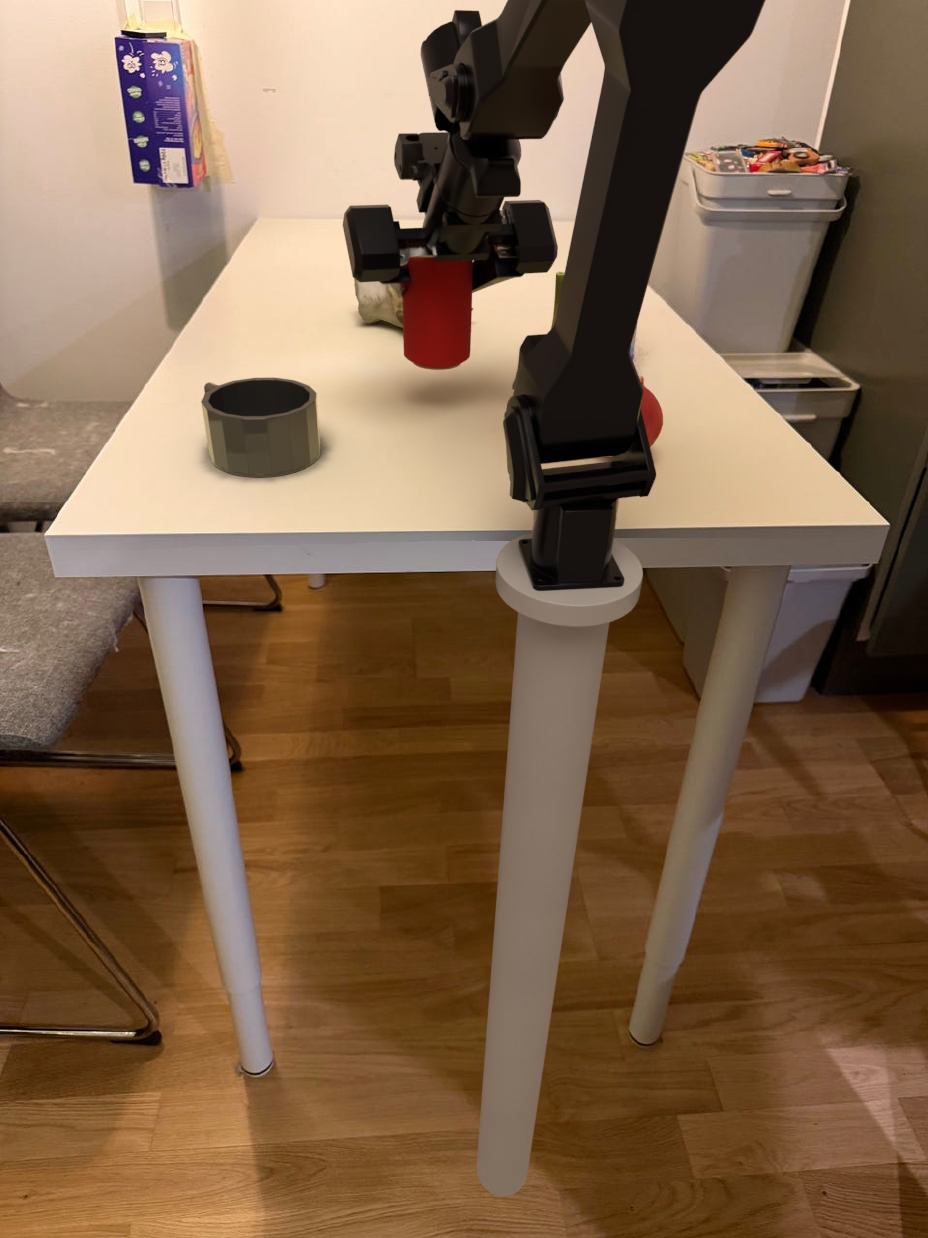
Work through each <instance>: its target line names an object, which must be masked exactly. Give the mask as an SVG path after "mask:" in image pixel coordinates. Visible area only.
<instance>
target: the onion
mask: <svg viewBox="0 0 928 1238" xmlns="http://www.w3.org/2000/svg"><path fill="white" fill-rule="evenodd" d="M638 376H639V379H640V381H641V384H642V387H643V390H644V392H643V398H642V403H641V411H642V416H643V420H644V424H645V428H646V432H647V437H648V441H649V445H650V447H651V446H653V445H654V444H655V442H656V441H657V440H658V438H659V436H660V434H661V432H662V429H663V426H664V413H663V409H662V406H661V404H660V402H659V401H658V399H657V397H656V396H655V394H654V393H653V392H652V391H651V390H650V389H648V387H646V386H645V378H644V376H642V375H638Z"/></svg>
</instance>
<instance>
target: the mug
mask: <svg viewBox="0 0 928 1238" xmlns="http://www.w3.org/2000/svg"><path fill="white" fill-rule="evenodd" d="M203 390H204V394H203V396H202V399H201V401H200V403H201V410H202V416H203V423H204V430H205V435H206V442H207V443H206V444H207V449H208V456H209V457H210V461H211V463H212V464H213V466H215V467H216V468H217V469H218V470H220V471H222V472H224V473H227V474H230V475H234V476H238V477H244V478H273V477H280V476H287V475H290V474H293V473H297V472H299V471H302V470H305V469H307V468H308V467H310V466H312V465H313V464H314V463H315V462H316V461H317V460H318V459H319V458H320V454H321V436H320V422H319V421H320V419H319V408H318V406H319V405H318V395H317V394H318V393H317V392H316V391H315V389H313V388H312V387H311V386H310V385H308V384H306V383H304V382H301V381H299V380H298V381H297V380H294V379H289V378H280V377H251V378H242V379H237V380H231V381H229V382H225V383H222V384H216V383H214V382H210V381H209V382H206V383H205V384H204V386H203Z"/></svg>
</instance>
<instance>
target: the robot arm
mask: <svg viewBox="0 0 928 1238" xmlns="http://www.w3.org/2000/svg"><path fill="white" fill-rule="evenodd" d="M765 4H766V0H507V1H506V2H505V5H504V7H503V8H502V11H501V13H500V14H499V15H498V17H497V18H495V19H493V20H491V21H489V22H487V23H485V24H483V23H482V18H481V14H480V10H469V9H468V10H467V9H464V10H463V9H455V10H454V12H453V14H452V19H451V21H448V22H446V23H443V24H442V25H440V26H438V27H437V28H435V29H434V30H433V31H431V32H430V34H429V35H427V36H426V39H425V40H423V41H422V43H421V46H420V60H421V64H422V70H423V74H424V78H425V82H426V87H427V93H428V97H429V102H430V107H431V112H432V116H433V122H434V124H435V125H434V126H435V128H436V129H437V131H439V132H436V131H435V132H420V133H417V132H415V133H412V132H411V133H410V132H409V133H408V132H407V133H403V132H402V133H398V135H397V138H396V141H395V145H394V155H393V163H394V168H395V170H396V174H397V176H398V178H399V179H400V181H413V182H417V184H418V186H419V189H418V193H417V196H416V205H417V211H418V213H419V214H421V213H424V219H423V223H422V226H421V227H405V228H404V227H403V228H401V225H400V221H399V220H394V215H393V210H392V207H391V206H390V205H389V204H362V205H361V204H360V205H349V206H348V208H347V209H346V210H345V212H344V214H343V219H342V229H343V234H344V235H343V236H344V240H345V244H346V249H347V255H348V260H349V265H350V270H351V276H352V278H353V279H354V278H355V279H356V280H357V281H359V282H378V281H379V282H380V283H381V284H385V285H386V284H389V285H391V286H392V287H393V288H394V289H395V291H396V294H397V297H398V298H402V297H403V296H404V295H405V294H406V291H407V289H408V287H409V285H410V283H411V277H410V273H409V268H408V262H409V259H411V258H432V257H434V261H435V262H450V261H471V260H473V278H472V294H474V293H477V292H479V291H481V290H484V289H487V288H489V287H491V286H494V285H497V284H499V283H503V282H506V281H509V280H512V279H515V278H521V277H523V276H524V275H526V274H527V275H528V274H544V273H548V272H549V271H550V269H551V268H552V266H553V265H554V264H555V261H556V260H557V258H558V253H559V251H558V250H559V245H558V242H557V237H556V234H555V228H554V225H553V219H552V216H551V212H550V208H549V207H548V205H547V204H546V202H544V201H543V200H541V199H526V200H525V199H523V200H522V199H521V200H505V198H518V197H520V196H521V192H522V179H521V176H520V172H519V171H520V170H519V168H518V166H519V164H520V161H521V159H522V146H521V142H520V140H543V138H545V137H546V135H548V133H549V131H550V129H551V128H552V126H553V124H554V121H556V120H557V118H558V116H559V112H560V109H561V107H562V106H563V103H564V101H565V96H564V89H563V80H562V71H563V70H564V67H565V65H566V63H567V62H568V60H569V58H570V57H571V55H572V54H573V52H574V51H575V49H576V47H577V46H578V44H579V42H580V41H581V39H582V38H583V37H584V35H585V33H586V32H587V30H588V28H589V27H590V26H592V29H593V32H594V35H595V38H596V39H595V40H596V42H597V45H598V48H599V51H600V54H601V58H602V61H603V65H604V71H603V77H602V83H601V89H600V92H599V93H600V94H599V98H598V103H597V108H596V113H595V118H594V123H593V128H592V133H591V139H590V143H589V149H588V153H587V159H586V163H585V169H584V173H583V174H584V175H583V180H582V183H581V189H580V193H579V199H578V204H577V209H576V214H575V218H574V223H573V229H572V234H571V239H570V244H569V249H568V255H567V259H566V264H565V269H564V272H565V274H564V279H563V284H562V289H561V294H560V299H559V304H558V309H557V314H556V319H555V323H554V326H553V328H552V329H551V328H550V329H549V331H548V332H547V333H542V334H541V333H540V334H528V335H526V336H525V337H524V339H523V341H522V343H521V344H520V346H519V351H518V359H517V369H516V374H515V378H514V380H513V382H512V384H511V386H512V390H513V394H512V396H510V397H509V399H508V401H507V403H506V407H505V408H506V409H505V412H504V416H503V417H504V419H503V421H502V427H503V433H504V439H505V451H506V453H505V454H506V466H507V469H506V470H507V473H508V479H509V496H510V498H511V499H512V500H514V501H518V502H522V503H526V505H527V506H528V507H529V509H530V510H531V511H533V520H532V530H531V532H532V539H521V540H519V543H518V548H519V551H520V554H521V556H522V559H523V562H524V565H525V568H526V571H527V573H528V576H529V579H530V582H531V585H532V588H533V589H534V590H537V591H552V590H572V589H592V588H612V587H622V586H623V585H624V580H625V579H624V577H623V575H622V573H621V571H620V569H619V567H618V565H617V563H616V561H615V559H614V557H613V555H612V553H611V552H612V545H613V540H614V538H615V531H616V523H617V517H618V509H619V503H620V502H619V501H620V499H626V498H627V499H628V498H633V497H634V498H635V497H639V498H644V497H649V495H650V493H651V491H652V488H653V486H654V484H655V481H656V479H657V471H656V466H655V462H654V458H653V454H652V449H651V446H650V445H649V441H648V437H647V432H646V428H645V424H644V420H643V416H642V411H641V403H642V398H643V392H644V390H643V387H642V384H641V381H640V379H639V376H640V375H639V373H638V371H637V368H636V366H635V365H636V364H635V363H634V360H632V357H631V355H630V348H631V343H632V339H633V336H634V332H635V329H636V325H637V326H638V322H639V318H640V314H641V310H642V306H643V303H644V300H645V296H646V292H647V289H648V285H649V282H650V278H651V274H652V271H653V267H654V263H655V260H656V256H657V254H658V253H657V252H658V249H659V245H660V242H661V238H662V235H663V231H664V227H665V224H666V221H667V216H668V213H669V210H670V206H671V202H672V198H673V196H674V191H675V187H676V184H677V180H678V177H679V173H680V170H681V167H682V162H683V159H684V155H685V151H686V148H687V144H688V141H689V138H690V133H691V130H692V126H693V123H694V119H695V116H696V112H697V108H698V105H699V102H700V100H701V96H702V94H703V92H705V89H707V88H708V86H709V85H710V84H711V83H712V82H713V80H714V79H715V78H716V77H717V76H718V75H719V73H720V72H721V71H722V70H723V69H724V68H725V67H726V66H727V64H728V63H729V62H730V61H731V60H732V59H733V57H734V56H735V55H736V54H737V53H738V52H739V50H741V48H742V47H743V46H744V45H745V43H747V41H748V40H749V39H750V38H751V36H752V35H753V33H754V30H755V29H756V26H757V23H758V21H759V18H760V16H761V13H762V10H763V8H764V6H765ZM504 200H505V201H504ZM637 321H638V322H637ZM600 458H601V459H602V458H611V460H610V461H604V462H594V463H584V464H576V465H567V466H558V467H557V466H556V467H549V468H543V467H542V465H548V464H557V463H565V462H576V461H585V460H593V459H600Z"/></svg>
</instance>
